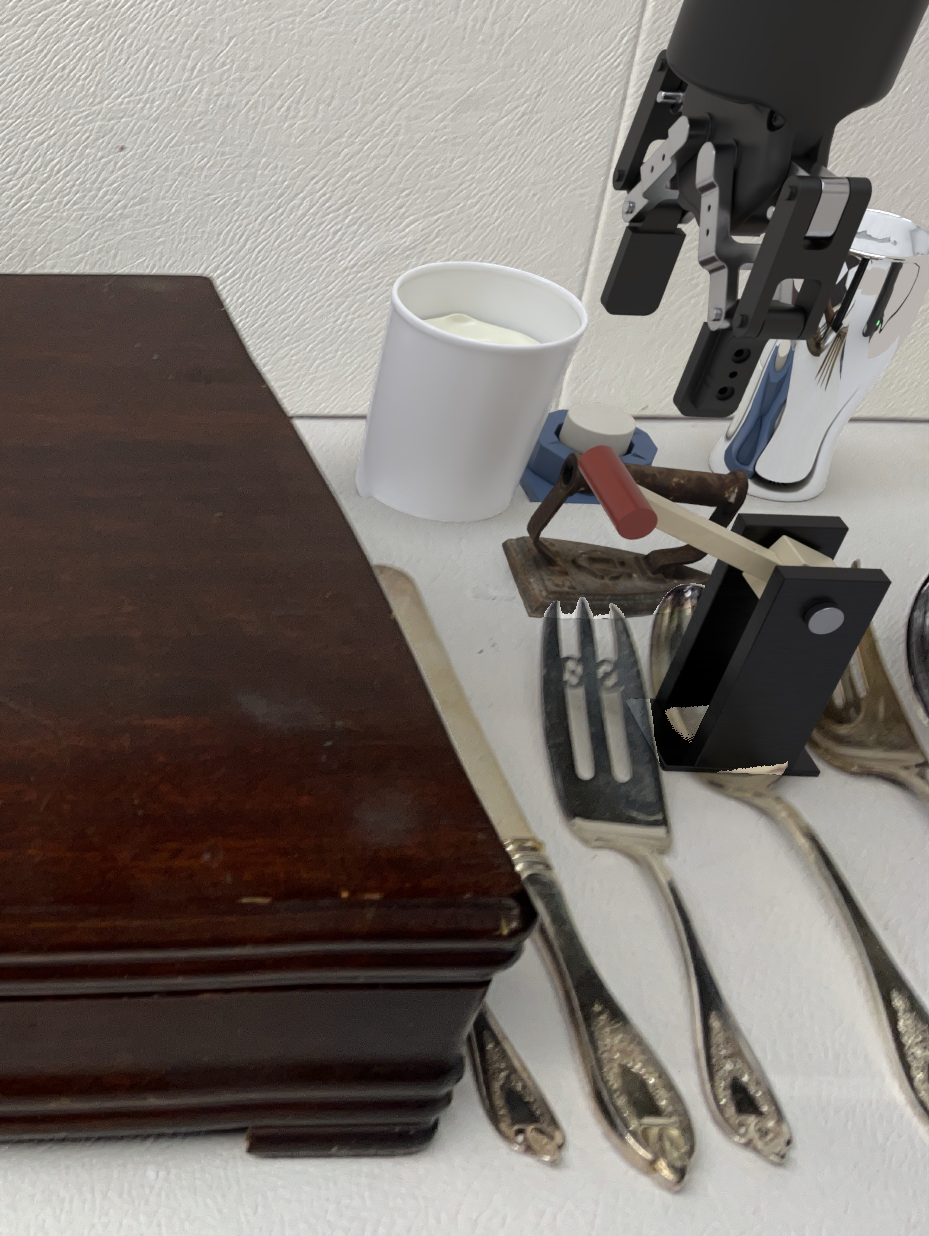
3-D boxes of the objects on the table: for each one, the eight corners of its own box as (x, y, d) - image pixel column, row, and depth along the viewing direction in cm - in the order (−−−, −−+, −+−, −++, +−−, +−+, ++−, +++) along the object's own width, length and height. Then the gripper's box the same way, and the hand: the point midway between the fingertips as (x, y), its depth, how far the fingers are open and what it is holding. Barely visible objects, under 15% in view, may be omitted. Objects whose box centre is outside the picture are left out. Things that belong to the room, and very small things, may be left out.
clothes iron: (472, 559, 97) (568, 397, 91) (665, 614, 97) (772, 456, 92) (509, 626, 91) (613, 457, 85) (714, 684, 91) (831, 520, 86)
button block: (489, 428, 106) (501, 392, 105) (616, 432, 106) (630, 396, 105) (541, 521, 99) (555, 483, 97) (678, 526, 98) (695, 488, 97)
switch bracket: (659, 792, 82) (758, 584, 74) (615, 709, 86) (703, 505, 79) (815, 798, 81) (930, 590, 74) (762, 714, 86) (864, 510, 78)
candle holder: (522, 557, 96) (594, 359, 88) (335, 524, 99) (389, 328, 91) (519, 465, 103) (585, 275, 96) (344, 436, 106) (395, 249, 98)
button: (550, 427, 103) (559, 400, 101) (613, 428, 102) (623, 402, 101) (570, 460, 100) (580, 433, 99) (635, 462, 100) (646, 435, 99)
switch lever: (601, 538, 74) (644, 495, 72) (563, 474, 78) (603, 431, 76) (823, 646, 76) (869, 606, 75) (775, 578, 80) (818, 539, 79)
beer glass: (800, 521, 99) (918, 272, 89) (677, 471, 103) (778, 228, 93) (852, 477, 102) (971, 233, 93) (732, 430, 106) (834, 192, 97)
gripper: (1041, 18, 56) (830, 455, 67) (845, -108, 67) (690, 284, 78) (799, 11, 57) (627, 448, 67) (644, -113, 68) (516, 278, 78)
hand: (661, 359), depth 72 cm, fingers open, 8 cm apart
